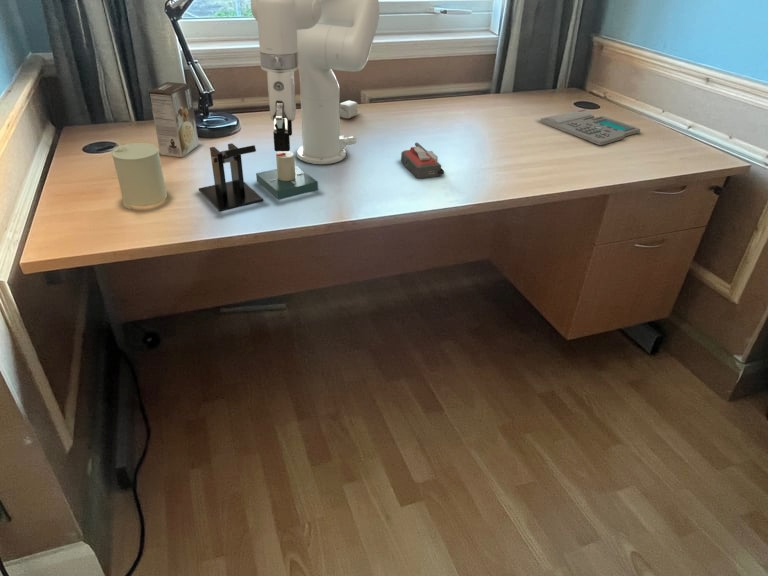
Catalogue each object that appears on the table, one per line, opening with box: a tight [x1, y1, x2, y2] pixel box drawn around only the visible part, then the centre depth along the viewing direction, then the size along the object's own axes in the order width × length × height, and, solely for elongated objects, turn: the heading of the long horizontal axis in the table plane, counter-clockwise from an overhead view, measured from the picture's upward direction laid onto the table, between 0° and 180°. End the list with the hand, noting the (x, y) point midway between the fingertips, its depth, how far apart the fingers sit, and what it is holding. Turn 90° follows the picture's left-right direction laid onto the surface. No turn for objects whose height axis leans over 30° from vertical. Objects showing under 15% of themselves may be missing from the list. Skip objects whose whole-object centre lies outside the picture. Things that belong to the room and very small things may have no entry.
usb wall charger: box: [339, 99, 361, 119], centre depth 178 cm, size 4×7×4 cm, turn 145°
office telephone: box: [540, 109, 641, 146], centre depth 177 cm, size 23×3×20 cm
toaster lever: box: [220, 144, 257, 165], centre depth 119 cm, size 12×6×2 cm, turn 35°
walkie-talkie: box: [400, 142, 445, 179], centre depth 148 cm, size 9×4×20 cm
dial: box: [275, 150, 296, 181], centre depth 131 cm, size 4×4×6 cm
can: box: [111, 142, 168, 211], centre depth 123 cm, size 9×9×12 cm
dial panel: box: [255, 164, 319, 201], centre depth 133 cm, size 10×11×3 cm
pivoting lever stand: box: [198, 142, 264, 213], centre depth 125 cm, size 12×10×12 cm
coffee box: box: [148, 81, 200, 158], centre depth 146 cm, size 9×6×16 cm
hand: (283, 142), depth 127 cm, fingers open, 9 cm apart
